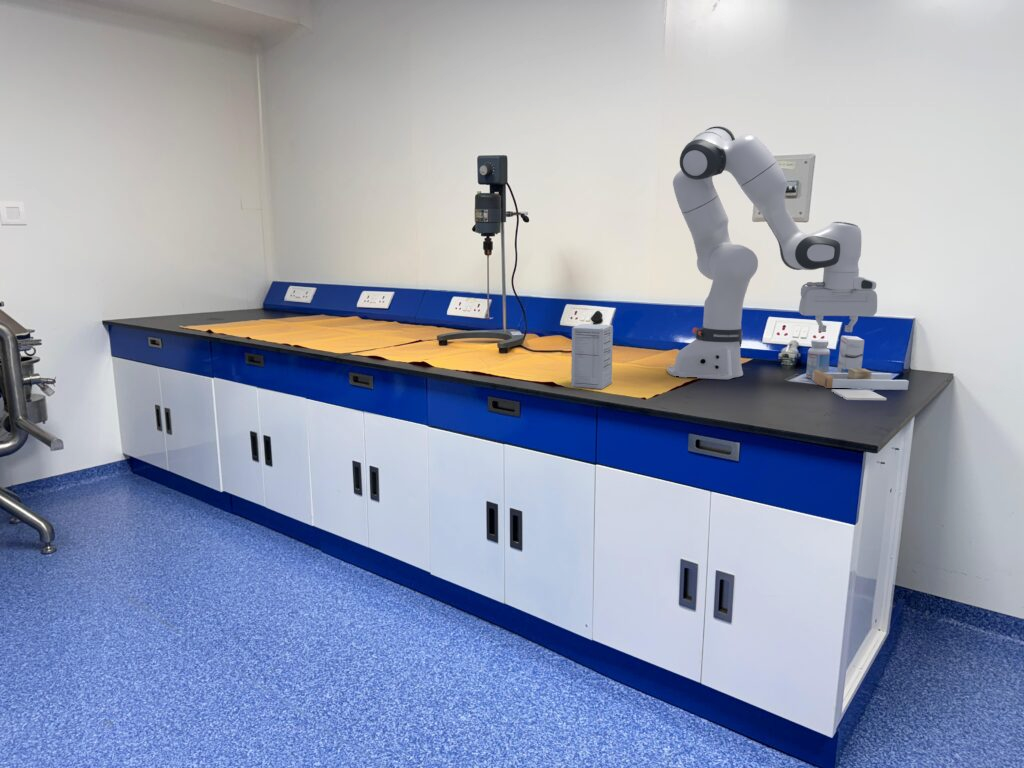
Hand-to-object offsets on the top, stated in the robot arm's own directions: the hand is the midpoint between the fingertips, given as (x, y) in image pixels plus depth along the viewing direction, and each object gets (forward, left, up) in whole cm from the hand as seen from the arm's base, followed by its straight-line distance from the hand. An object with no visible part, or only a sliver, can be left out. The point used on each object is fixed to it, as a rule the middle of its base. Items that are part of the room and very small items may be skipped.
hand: (835, 331), depth 196 cm
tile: (+2, -14, -15) cm, 21 cm away
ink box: (+11, +14, -15) cm, 24 cm away
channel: (+8, 0, -15) cm, 17 cm away
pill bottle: (0, +10, -15) cm, 18 cm away
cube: (+8, 0, -15) cm, 17 cm away
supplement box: (-68, -5, -15) cm, 70 cm away
